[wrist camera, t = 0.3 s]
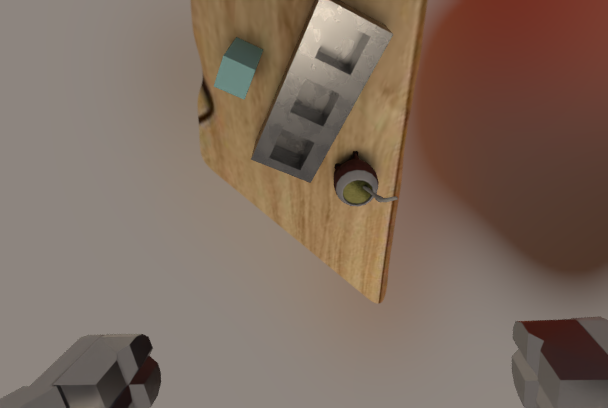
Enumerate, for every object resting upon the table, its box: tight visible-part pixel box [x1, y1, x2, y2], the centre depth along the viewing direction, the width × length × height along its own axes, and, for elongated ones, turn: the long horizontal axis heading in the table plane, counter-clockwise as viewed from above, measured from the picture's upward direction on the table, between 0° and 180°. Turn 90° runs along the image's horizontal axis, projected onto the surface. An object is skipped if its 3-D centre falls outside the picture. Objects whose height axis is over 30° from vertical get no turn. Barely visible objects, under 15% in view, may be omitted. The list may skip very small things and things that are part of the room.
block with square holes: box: [251, 0, 393, 183], centre depth 53 cm, size 24×10×6 cm, turn 155°
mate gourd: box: [334, 151, 398, 206], centre depth 57 cm, size 8×8×15 cm
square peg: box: [214, 37, 263, 99], centre depth 49 cm, size 4×4×10 cm
